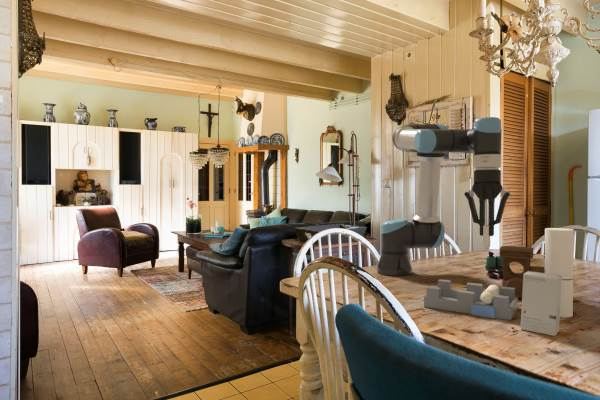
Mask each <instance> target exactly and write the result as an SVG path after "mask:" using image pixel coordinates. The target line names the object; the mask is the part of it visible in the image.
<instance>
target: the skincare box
mask: <svg viewBox="0 0 600 400" xmlns="http://www.w3.org/2000/svg"><path fill="white" fill-rule="evenodd" d="M561 286H562V276H559V275H553V274H547V273H539V272H531V271H528V272H526V273H524V276H523V292H522V298H521V314H520V329H521V330H522V331H527V332H533V333H538V334H544V335H548V336H552V337H555V336H557V334H558V332H559V331H560V320H561V319H560V318H561V317H560V304H561Z"/></svg>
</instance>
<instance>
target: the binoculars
mask: <svg viewBox="0 0 600 400" xmlns="http://www.w3.org/2000/svg"><path fill="white" fill-rule="evenodd" d="M494 254H495V253H494V252H493V251H490V250H489V251H488V256H486V261H485V266H484V267H485V270H486V271H487V272H486V276H488V277H489V278H490V279H493V280H497V279H498V277H500V279H502V280H503V279H504V278H503V267H502V257H500V252H499V253H498V254H499V255H496V256H495V255H494Z"/></svg>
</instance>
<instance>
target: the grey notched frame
mask: <svg viewBox="0 0 600 400" xmlns="http://www.w3.org/2000/svg"><path fill="white" fill-rule="evenodd" d="M499 289H500V293H499V294H498V295H494V296H493V302H492V303H490V304H485V303H483V302H482V301H481V299H480V296H481V294H482V293H483V292H484V284H482V283H476V282H467V283H466V290H463V289H455V288H452V280H450V279H438V280H437V286H427V287H426V294H425V295H424V296H423V307H424V308H430V309H435V310H443V311H448V310H449V312H454V311H455V313H461V314H466V315H467V314H469V315H471V316H477V317H483V318H484V317H485V318H489V319H500V320H507V321H512V319H513V318H514V315H515V314H516V312H517V310H518V305H519V304H518V303H519V298H518V297H515V288H511V287H502V286H501V287H499Z"/></svg>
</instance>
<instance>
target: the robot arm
mask: <svg viewBox="0 0 600 400" xmlns="http://www.w3.org/2000/svg"><path fill="white" fill-rule="evenodd" d="M501 120H502V119H501V118H499V117H495V116H494V117H493V116H488V117H487V116H486V117H485V116H484V117H480V118H476V119H475V120H474V122H473V128H461V129H459V128H457V129H455V128H449V127H448V126H447V125H446V124H440V123H439V124H438V123H425V124H424V123H421V124H420V123H419V124H418V123H416V124H415V123H411V124H404V125H402V126H400V127H398V128H397V129H396V130H395V131H394V132H393V134H392V144H393V145H394V147H395V148H396V149H398V150H400V151H402V152H407V153H416V158H418V159H419V168H418V184H417V185H418V188H417V200H416V201H417V203H416V214H415V215H414V216H412V221H410V222H409V220H408V219H407V218H397V219H390V220H389V219H388V220H385V221H383V222H382V223H381V226H380V258H379V260H378V264H377V266H376V267H377V268H376V272H377V273H378V274H381V275H385V276H394V277H395V276H398V277H401V276H403V277H404V276H409V275H412V274H413V267H412V264H411V261H410V257H409V249H437V248H439V247H440V246H441V245H442V244H443V242H444V239H445V233H446V232H445V225H444V223H443V222H442V221H441V219H440V217H439V216H438V206H439V192H440V179H441V177H440V176H441V164H442V160H443V159H445V157H446V153H463V154H473V168H474V169H475V170H474V171H473V185H472V186H471V189H469V190H468V191H465V192H464V197H465V198H466V199H467V202H468V206H469V211H470V214H471V218H472V221H473V223H475V224H477V225H478V226H479V235H480V236H482V237H483V238H482V246H483V248H489V247H491V237H494V235H495V225H497V224H498V225H499V224H500V223H501V222H502V218H503V215H504V211H505V208H506V204H507V200H508V199H509V198H510V196H511V192H510V191H507V190H505V189H504V187H503V185H502V170H501V167H502V131H503V130H502V121H501ZM499 195H500V197H501V200H500V201H499V205H498V210H497V213H496V217H495V201H496V200H495V199H497V198H498V196H499ZM474 196H476V197H477V198H478V199H479V200H478V202H479V209H478V210H479V215H478V212H477V211H478V210H477V207H476V202H475V199H474ZM486 201H488V224H486Z"/></svg>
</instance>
